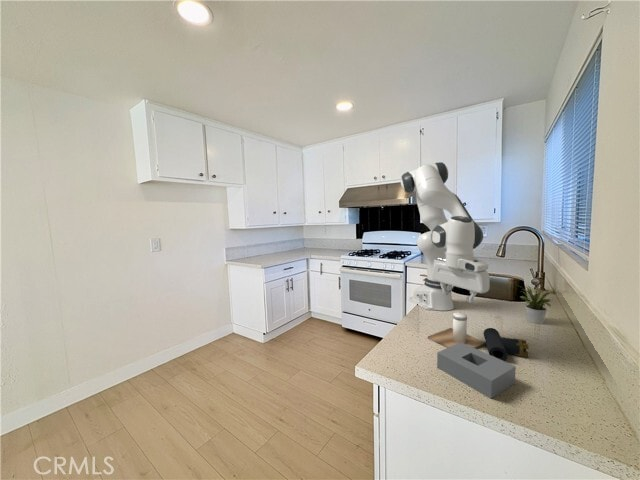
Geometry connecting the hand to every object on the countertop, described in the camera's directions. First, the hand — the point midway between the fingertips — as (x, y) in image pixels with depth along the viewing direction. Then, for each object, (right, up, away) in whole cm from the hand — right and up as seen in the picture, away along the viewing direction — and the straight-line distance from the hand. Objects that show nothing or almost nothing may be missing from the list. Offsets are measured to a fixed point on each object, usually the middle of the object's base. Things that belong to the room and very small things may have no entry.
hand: (457, 297), depth 95 cm
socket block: (-5, -19, -18) cm, 27 cm away
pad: (0, -17, +1) cm, 17 cm away
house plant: (+41, -14, +16) cm, 46 cm away
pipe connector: (+13, -18, -7) cm, 23 cm away
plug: (+1, -16, 0) cm, 16 cm away
